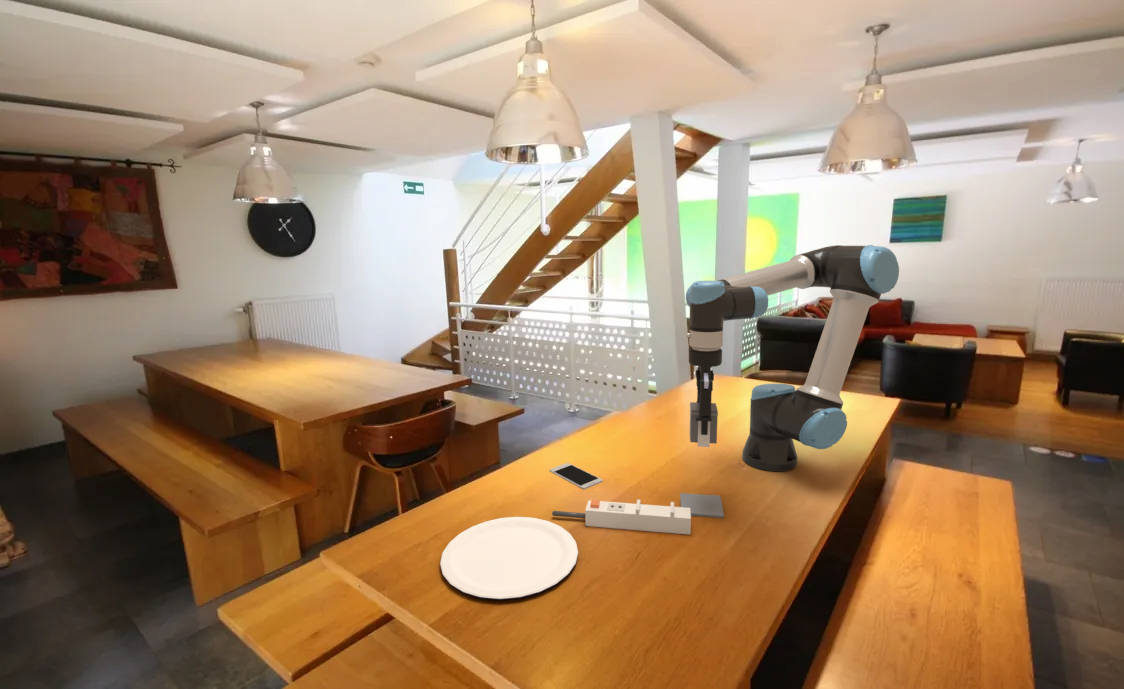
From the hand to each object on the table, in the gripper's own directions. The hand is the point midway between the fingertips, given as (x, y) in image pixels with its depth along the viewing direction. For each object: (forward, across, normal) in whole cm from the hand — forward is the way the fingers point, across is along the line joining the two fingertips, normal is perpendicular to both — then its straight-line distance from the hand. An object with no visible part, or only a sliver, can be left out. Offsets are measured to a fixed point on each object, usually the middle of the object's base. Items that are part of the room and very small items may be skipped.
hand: (702, 440), depth 128 cm
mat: (+17, 0, 0) cm, 17 cm away
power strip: (+17, +11, -19) cm, 28 cm away
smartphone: (+18, -12, -34) cm, 40 cm away
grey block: (-1, 0, 0) cm, 1 cm away
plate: (+18, +28, -41) cm, 53 cm away
